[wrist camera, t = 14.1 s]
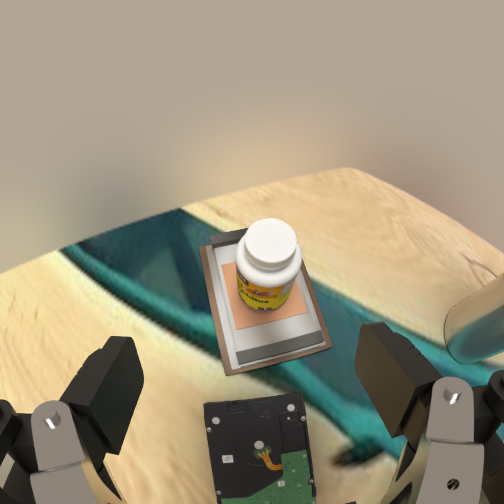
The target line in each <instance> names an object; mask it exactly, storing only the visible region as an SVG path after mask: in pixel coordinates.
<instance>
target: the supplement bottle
mask: <svg viewBox="0 0 504 504" xmlns="http://www.w3.org/2000/svg"><path fill="white" fill-rule="evenodd" d="M235 262H236V274H237V288H238V293H239V296H240V298H241V300H242V301H243V303H244V304H245V305H246V306H247V307H249V308H250V309H252V310H255V311H258V312H271V311H274V310H276V309H278V308H280V307H281V306H282V305H283V304H284V303H285V302H286V301H287V299H288V297H289V295H290V292H291V290H292V287H293V285H294V282H295V280H296V277H297V275H298V272H299V270H300V267H301V263H302V252H301V248H300V246H299V244H298V242H297V238H296V234H295V232H294V231H293V229H292V228H291V227H290V226H289V225H288V224H286V223H285V222H283V221H281V220H278V219H273V218H267V219H261V220H259V221H257V222H255V223H253V224H252V225H251V226H250V227H249V228H248V230H247V232H246V234H245V235H244V236H243V237H242V238H241V240H240V241H239V243H238V245H237V248H236V253H235Z"/></svg>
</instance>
